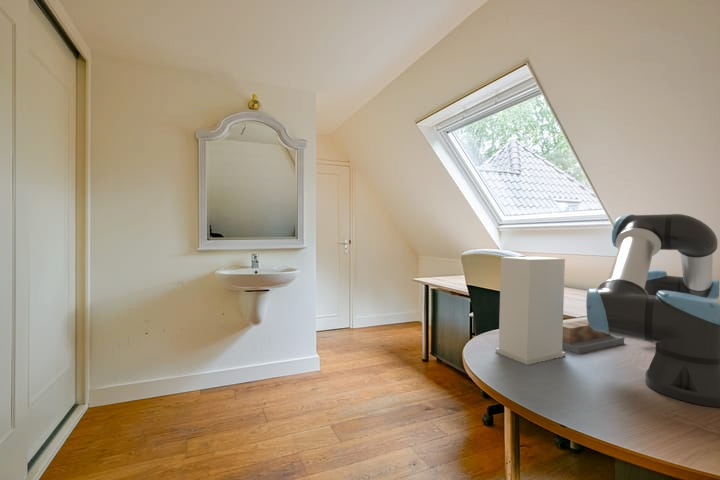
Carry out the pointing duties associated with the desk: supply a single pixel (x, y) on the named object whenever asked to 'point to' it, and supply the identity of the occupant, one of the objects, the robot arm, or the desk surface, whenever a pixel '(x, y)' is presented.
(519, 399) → the desk surface
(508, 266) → the stand
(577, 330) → the walnut bar
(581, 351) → the felt mat
